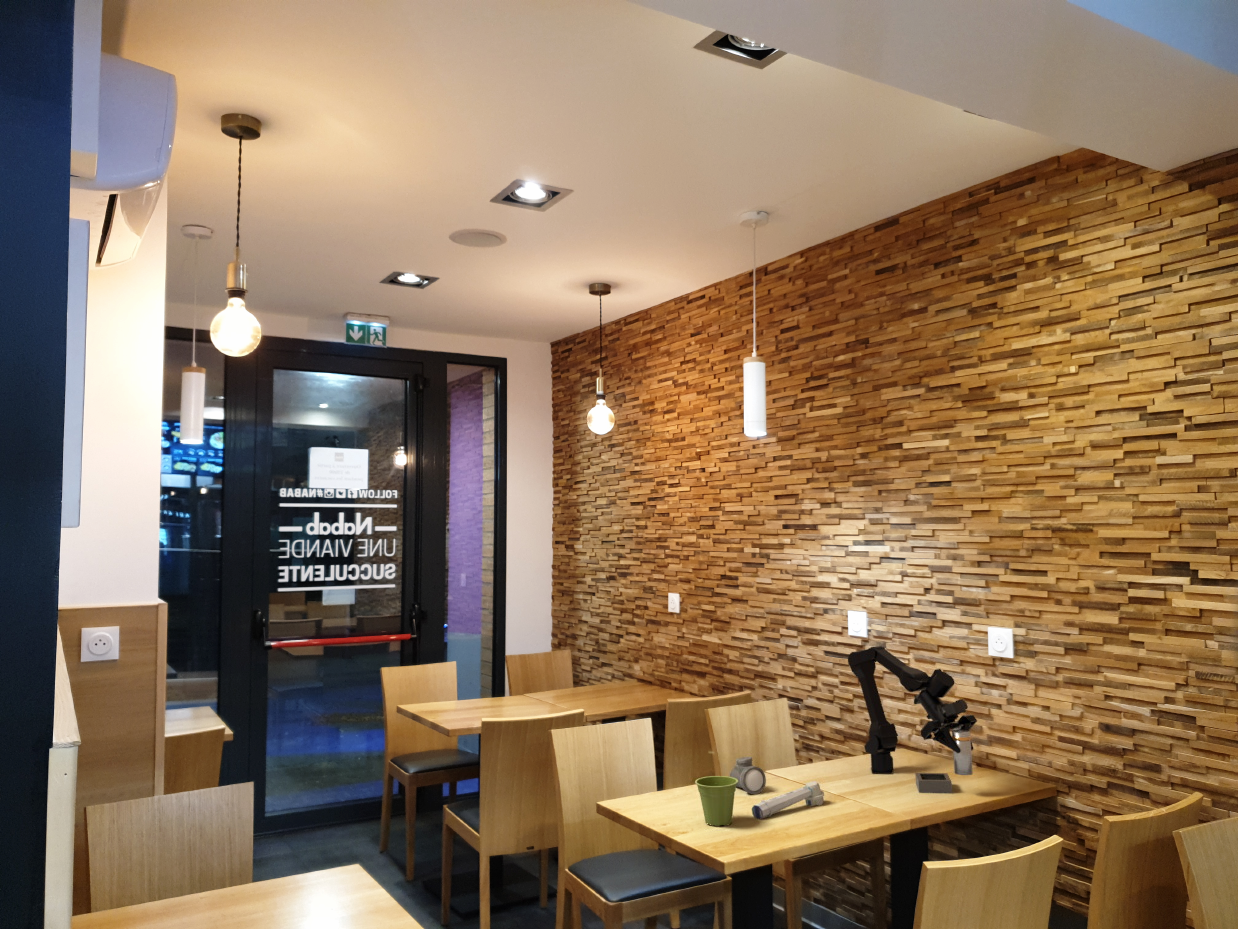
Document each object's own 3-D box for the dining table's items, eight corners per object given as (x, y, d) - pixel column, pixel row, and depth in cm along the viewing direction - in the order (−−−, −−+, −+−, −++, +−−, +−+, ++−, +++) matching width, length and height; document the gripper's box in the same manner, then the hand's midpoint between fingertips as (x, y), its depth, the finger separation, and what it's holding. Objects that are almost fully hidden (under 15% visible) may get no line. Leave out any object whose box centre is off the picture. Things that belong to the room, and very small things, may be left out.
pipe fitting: (769, 791, 280) (763, 756, 282) (746, 797, 277) (740, 762, 279) (750, 786, 291) (744, 753, 293) (728, 792, 288) (722, 758, 290)
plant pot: (742, 817, 257) (740, 775, 258) (737, 830, 245) (735, 787, 246) (700, 815, 260) (698, 774, 261) (693, 828, 248) (692, 786, 249)
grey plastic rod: (748, 803, 257) (812, 775, 271) (752, 827, 257) (815, 797, 271) (761, 807, 253) (825, 778, 267) (765, 831, 253) (829, 801, 267)
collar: (919, 792, 274) (918, 780, 275) (915, 784, 283) (915, 772, 284) (952, 793, 272) (951, 781, 273) (947, 785, 281) (947, 773, 282)
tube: (955, 775, 268) (952, 733, 269) (953, 770, 273) (950, 729, 274) (974, 775, 267) (971, 733, 268) (971, 771, 272) (968, 729, 273)
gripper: (925, 694, 271) (957, 738, 260) (970, 687, 280) (1002, 730, 269) (907, 717, 277) (937, 761, 267) (951, 710, 286) (982, 752, 275)
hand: (965, 751), depth 269 cm, fingers closed on tube, 5 cm apart
